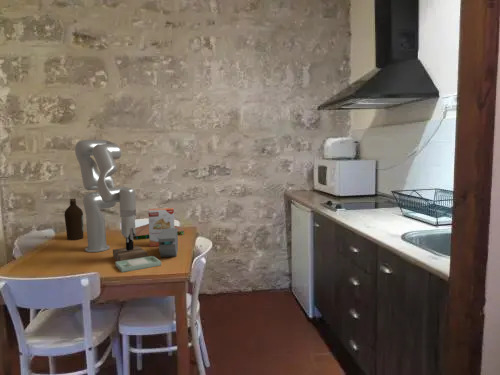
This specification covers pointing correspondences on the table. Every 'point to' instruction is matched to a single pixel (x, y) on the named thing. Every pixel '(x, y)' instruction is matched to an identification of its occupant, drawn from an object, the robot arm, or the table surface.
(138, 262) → the coaster
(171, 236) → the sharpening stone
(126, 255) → the riser
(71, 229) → the olive oil
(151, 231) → the cracker box
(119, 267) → the tray
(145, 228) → the house
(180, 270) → the table surface
